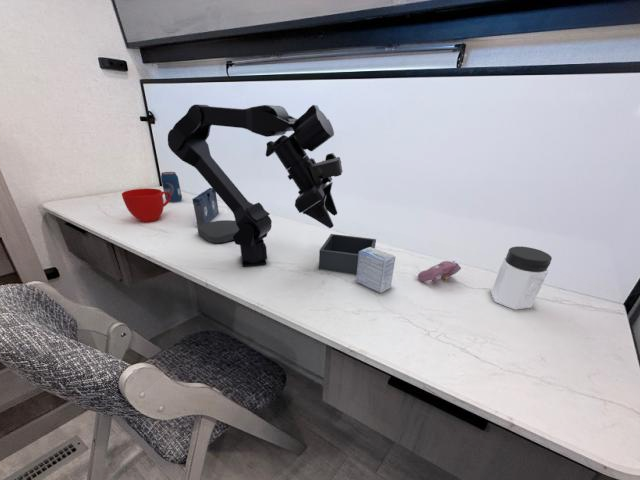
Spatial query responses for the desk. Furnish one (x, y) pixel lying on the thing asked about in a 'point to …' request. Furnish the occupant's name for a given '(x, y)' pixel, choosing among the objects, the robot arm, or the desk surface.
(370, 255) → the medicine box
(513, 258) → the jar
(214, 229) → the media streaming box
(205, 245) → the desk surface
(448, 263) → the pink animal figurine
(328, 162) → the robot arm
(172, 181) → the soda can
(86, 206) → the desk surface
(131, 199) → the ceramic cup
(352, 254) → the storage bin
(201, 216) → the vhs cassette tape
